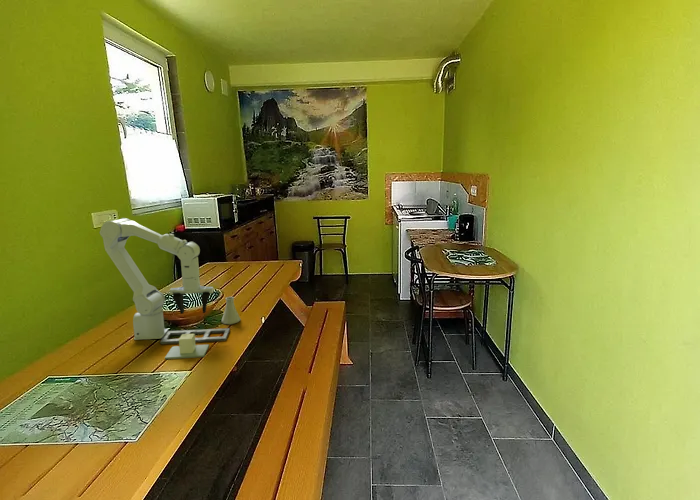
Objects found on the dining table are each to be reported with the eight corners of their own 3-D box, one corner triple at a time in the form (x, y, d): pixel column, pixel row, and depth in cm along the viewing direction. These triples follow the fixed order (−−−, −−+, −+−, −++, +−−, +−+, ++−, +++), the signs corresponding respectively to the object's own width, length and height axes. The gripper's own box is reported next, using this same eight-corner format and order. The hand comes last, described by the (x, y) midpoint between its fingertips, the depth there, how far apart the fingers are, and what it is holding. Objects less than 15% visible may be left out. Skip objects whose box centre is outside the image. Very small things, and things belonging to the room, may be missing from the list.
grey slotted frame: (160, 344, 131) (160, 341, 131) (168, 333, 140) (168, 331, 139) (225, 340, 134) (225, 338, 134) (229, 330, 143) (229, 328, 143)
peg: (179, 353, 123) (178, 339, 122) (183, 348, 127) (182, 334, 126) (192, 352, 124) (191, 338, 123) (195, 347, 128) (194, 333, 127)
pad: (165, 359, 120) (164, 357, 120) (172, 348, 128) (172, 346, 128) (204, 356, 122) (203, 355, 122) (209, 346, 130) (209, 344, 130)
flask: (217, 322, 150) (216, 299, 148) (230, 316, 157) (229, 294, 155) (231, 326, 147) (229, 302, 145) (244, 320, 153) (242, 296, 151)
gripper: (165, 280, 129) (169, 317, 132) (209, 278, 131) (211, 315, 134) (172, 274, 136) (175, 310, 139) (213, 273, 138) (215, 308, 141)
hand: (193, 312), depth 137 cm, fingers open, 7 cm apart
